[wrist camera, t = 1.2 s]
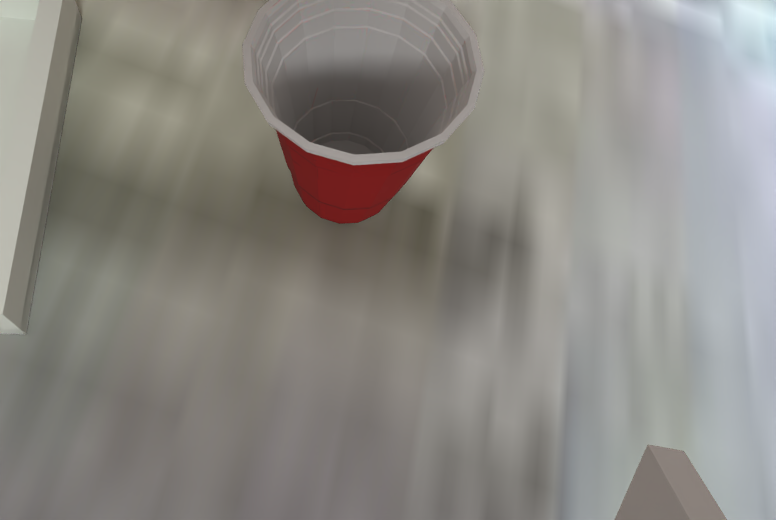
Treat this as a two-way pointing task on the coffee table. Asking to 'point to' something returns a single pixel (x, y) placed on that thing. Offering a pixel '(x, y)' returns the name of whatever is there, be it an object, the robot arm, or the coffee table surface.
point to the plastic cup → (360, 92)
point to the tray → (30, 138)
